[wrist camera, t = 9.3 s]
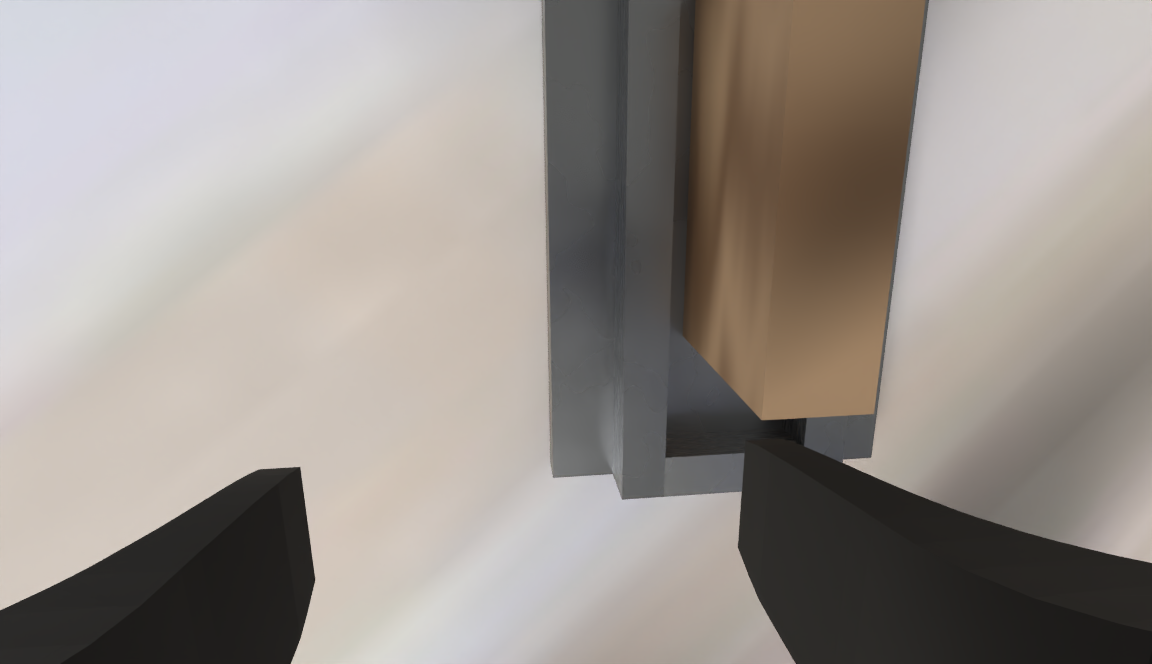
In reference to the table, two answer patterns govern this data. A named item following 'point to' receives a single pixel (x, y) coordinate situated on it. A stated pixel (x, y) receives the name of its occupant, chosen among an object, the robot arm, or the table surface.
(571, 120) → the floor track
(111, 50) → the table surface
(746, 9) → the door panel
